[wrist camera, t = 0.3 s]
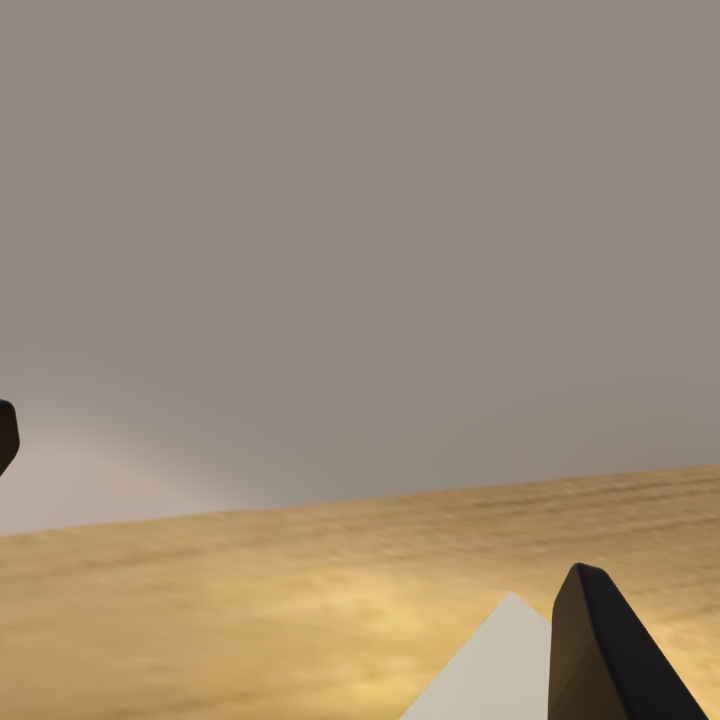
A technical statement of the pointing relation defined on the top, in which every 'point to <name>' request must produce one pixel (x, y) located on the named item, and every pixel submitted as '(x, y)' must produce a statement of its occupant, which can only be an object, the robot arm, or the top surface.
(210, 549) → the top surface
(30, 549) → the top surface
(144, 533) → the top surface
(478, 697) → the lid
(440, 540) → the top surface
